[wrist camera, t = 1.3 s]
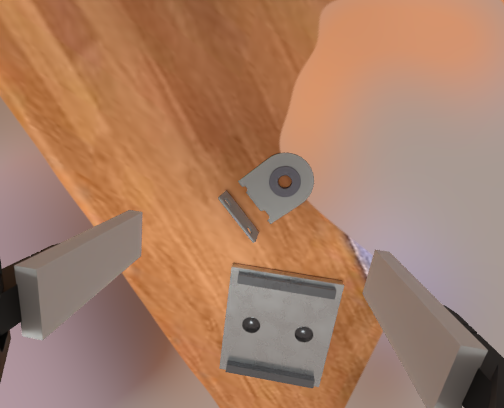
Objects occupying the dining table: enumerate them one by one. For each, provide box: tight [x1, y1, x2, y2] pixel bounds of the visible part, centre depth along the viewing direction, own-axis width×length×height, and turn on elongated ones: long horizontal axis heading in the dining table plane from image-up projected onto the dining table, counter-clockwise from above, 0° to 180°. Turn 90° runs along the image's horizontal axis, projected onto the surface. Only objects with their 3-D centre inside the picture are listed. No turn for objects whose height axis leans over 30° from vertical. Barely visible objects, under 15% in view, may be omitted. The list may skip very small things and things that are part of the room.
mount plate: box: [220, 263, 344, 388], centre depth 34 cm, size 16×14×2 cm
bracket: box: [218, 153, 314, 243], centre depth 29 cm, size 6×10×4 cm, turn 127°
